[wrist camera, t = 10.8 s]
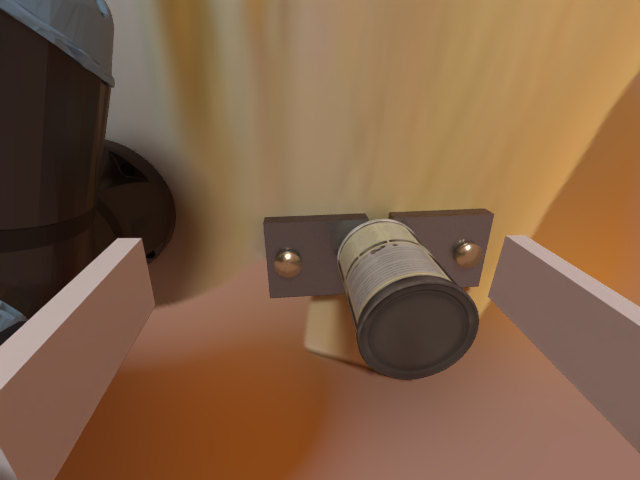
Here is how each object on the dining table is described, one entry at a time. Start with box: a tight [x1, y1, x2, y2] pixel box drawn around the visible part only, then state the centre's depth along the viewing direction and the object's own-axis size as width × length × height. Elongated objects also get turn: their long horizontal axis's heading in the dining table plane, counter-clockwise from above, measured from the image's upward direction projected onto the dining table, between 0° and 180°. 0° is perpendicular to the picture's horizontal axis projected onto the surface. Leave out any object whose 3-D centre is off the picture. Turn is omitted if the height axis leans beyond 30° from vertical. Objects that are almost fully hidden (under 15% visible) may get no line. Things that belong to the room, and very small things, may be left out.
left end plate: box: [263, 213, 369, 298], centre depth 40 cm, size 12×10×3 cm
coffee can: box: [337, 219, 479, 380], centre depth 34 cm, size 10×10×14 cm
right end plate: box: [389, 209, 494, 287], centre depth 42 cm, size 12×10×3 cm
